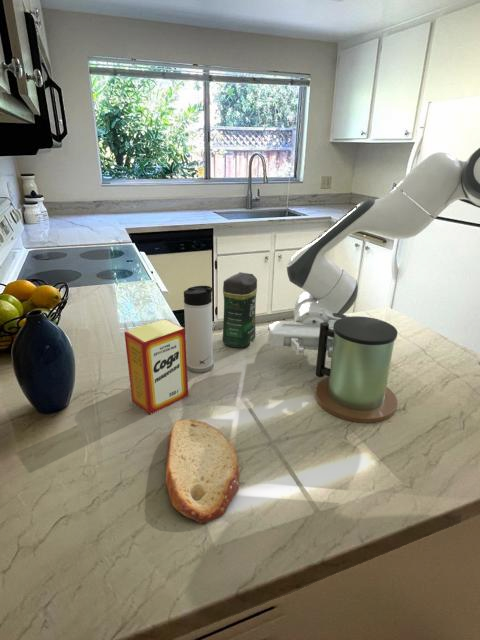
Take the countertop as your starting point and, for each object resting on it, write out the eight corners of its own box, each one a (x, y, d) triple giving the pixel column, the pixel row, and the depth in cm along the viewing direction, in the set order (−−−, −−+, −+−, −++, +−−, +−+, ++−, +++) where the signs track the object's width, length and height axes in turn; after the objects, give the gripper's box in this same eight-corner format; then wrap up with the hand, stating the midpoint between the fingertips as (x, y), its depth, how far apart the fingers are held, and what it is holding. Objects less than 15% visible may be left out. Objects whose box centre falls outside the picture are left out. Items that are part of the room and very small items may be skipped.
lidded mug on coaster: (334, 368, 93) (341, 304, 87) (409, 397, 82) (423, 327, 76) (293, 396, 82) (298, 326, 76) (374, 434, 72) (387, 356, 65)
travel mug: (208, 375, 92) (206, 293, 85) (182, 370, 94) (178, 289, 87) (218, 362, 98) (217, 284, 90) (193, 358, 100) (190, 281, 92)
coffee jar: (246, 351, 104) (247, 282, 97) (218, 345, 107) (218, 278, 99) (259, 336, 112) (261, 272, 105) (233, 331, 115) (233, 268, 108)
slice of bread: (185, 421, 77) (184, 404, 75) (269, 454, 68) (270, 437, 67) (114, 482, 62) (111, 463, 61) (209, 534, 54) (209, 514, 53)
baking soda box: (169, 383, 89) (165, 317, 83) (188, 395, 85) (184, 326, 78) (132, 401, 83) (124, 330, 77) (149, 414, 78) (142, 340, 72)
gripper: (269, 311, 95) (266, 336, 83) (357, 316, 93) (368, 343, 81) (268, 335, 98) (264, 363, 85) (354, 340, 96) (363, 370, 83)
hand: (315, 353), depth 83 cm, fingers open, 5 cm apart
